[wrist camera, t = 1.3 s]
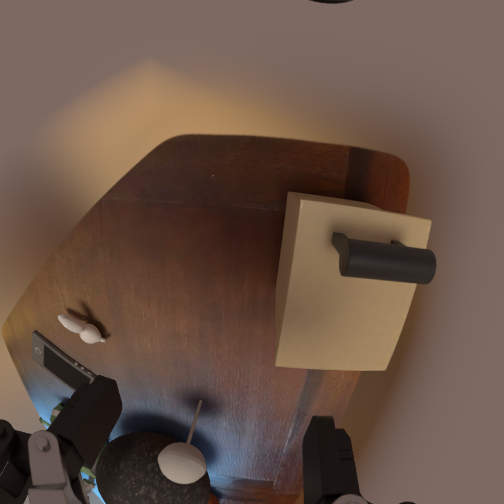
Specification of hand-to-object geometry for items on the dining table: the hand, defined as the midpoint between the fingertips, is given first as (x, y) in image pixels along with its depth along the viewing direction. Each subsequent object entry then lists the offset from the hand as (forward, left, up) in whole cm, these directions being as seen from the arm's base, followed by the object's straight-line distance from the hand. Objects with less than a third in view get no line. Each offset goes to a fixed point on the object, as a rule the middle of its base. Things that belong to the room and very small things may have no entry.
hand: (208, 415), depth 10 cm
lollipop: (+15, -20, -23) cm, 34 cm away
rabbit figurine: (-5, -26, -23) cm, 35 cm away
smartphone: (-1, -41, -23) cm, 47 cm away
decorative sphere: (+22, -35, -23) cm, 47 cm away
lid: (+4, +7, -10) cm, 12 cm away
